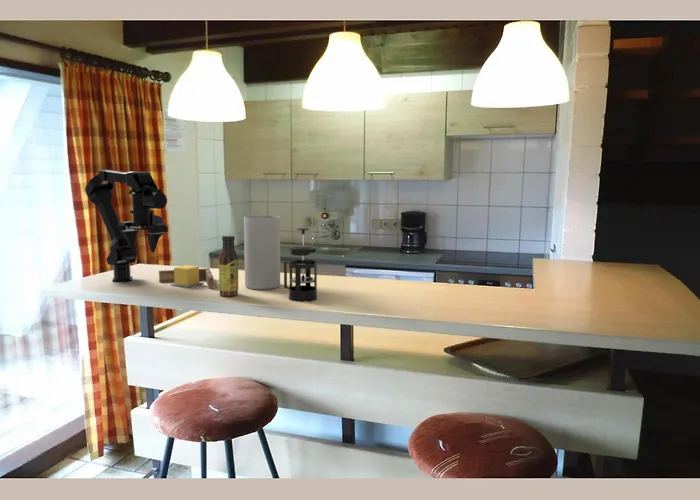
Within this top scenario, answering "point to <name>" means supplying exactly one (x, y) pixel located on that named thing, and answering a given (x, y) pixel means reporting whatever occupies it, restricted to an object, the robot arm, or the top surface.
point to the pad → (187, 286)
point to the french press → (300, 291)
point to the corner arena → (203, 275)
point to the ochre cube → (186, 275)
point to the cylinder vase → (262, 252)
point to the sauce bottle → (228, 267)
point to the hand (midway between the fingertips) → (143, 251)
